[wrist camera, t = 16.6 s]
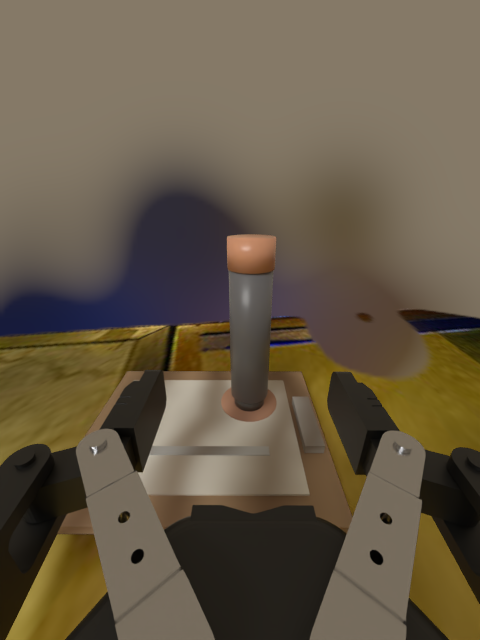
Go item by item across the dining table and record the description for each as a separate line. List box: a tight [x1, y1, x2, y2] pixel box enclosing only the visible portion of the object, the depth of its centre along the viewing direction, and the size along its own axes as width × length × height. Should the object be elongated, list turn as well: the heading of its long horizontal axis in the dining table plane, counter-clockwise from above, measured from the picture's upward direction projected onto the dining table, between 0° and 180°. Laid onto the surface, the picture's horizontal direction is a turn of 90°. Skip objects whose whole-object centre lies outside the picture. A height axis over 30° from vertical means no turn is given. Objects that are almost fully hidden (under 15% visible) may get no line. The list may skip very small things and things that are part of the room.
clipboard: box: [57, 371, 353, 534], centre depth 25 cm, size 21×17×2 cm
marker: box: [227, 234, 276, 411], centre depth 24 cm, size 4×4×16 cm
